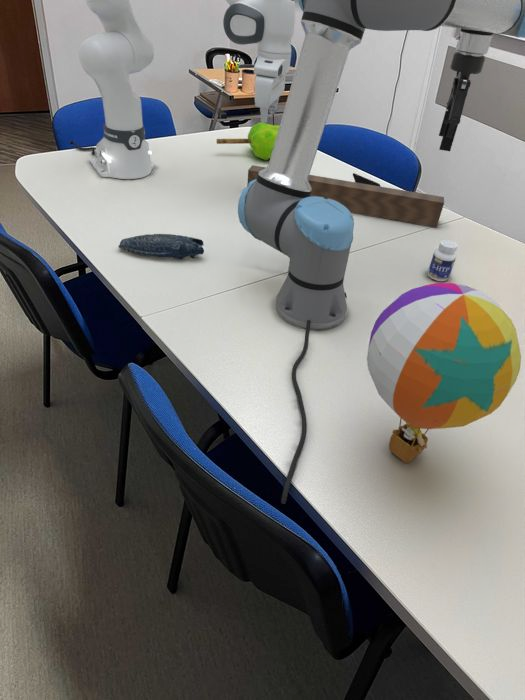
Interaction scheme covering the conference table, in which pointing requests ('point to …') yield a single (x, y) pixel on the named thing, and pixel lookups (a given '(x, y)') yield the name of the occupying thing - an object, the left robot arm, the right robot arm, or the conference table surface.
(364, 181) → the handheld gaming console
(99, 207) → the conference table surface
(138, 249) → the fish model
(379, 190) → the bar
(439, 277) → the pill bottle
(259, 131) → the decorative tree
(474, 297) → the toy
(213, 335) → the conference table surface
